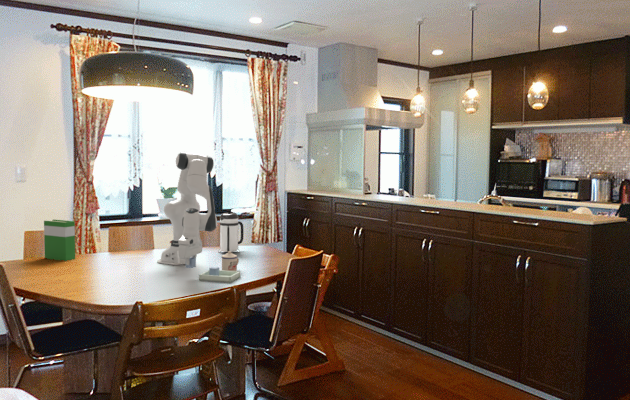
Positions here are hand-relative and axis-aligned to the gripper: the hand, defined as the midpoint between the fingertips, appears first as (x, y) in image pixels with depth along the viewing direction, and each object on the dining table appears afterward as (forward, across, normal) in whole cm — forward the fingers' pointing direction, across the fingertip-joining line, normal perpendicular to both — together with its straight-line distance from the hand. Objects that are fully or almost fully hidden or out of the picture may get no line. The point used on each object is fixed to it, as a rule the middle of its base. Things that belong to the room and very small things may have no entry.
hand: (190, 263), depth 298 cm
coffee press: (+9, -79, -13) cm, 80 cm away
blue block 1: (+2, 0, 0) cm, 2 cm away
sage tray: (+8, -5, +16) cm, 18 cm away
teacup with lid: (+8, -24, +13) cm, 29 cm away
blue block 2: (+7, -4, +12) cm, 15 cm away
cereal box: (+11, -19, -102) cm, 104 cm away
